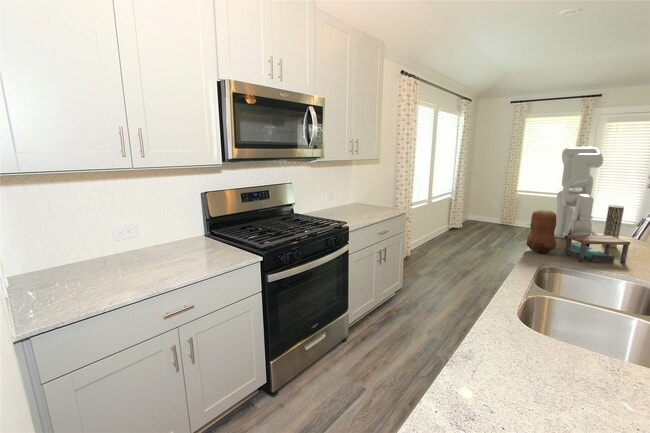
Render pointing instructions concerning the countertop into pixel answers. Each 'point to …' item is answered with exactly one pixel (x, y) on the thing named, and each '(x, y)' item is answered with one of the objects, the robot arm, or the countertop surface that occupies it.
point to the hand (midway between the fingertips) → (577, 246)
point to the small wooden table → (597, 240)
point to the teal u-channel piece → (586, 250)
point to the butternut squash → (542, 231)
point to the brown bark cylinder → (613, 222)
